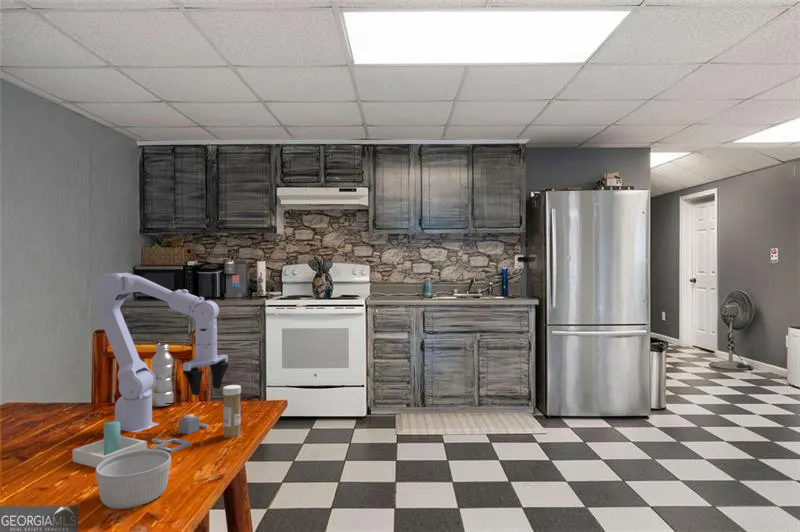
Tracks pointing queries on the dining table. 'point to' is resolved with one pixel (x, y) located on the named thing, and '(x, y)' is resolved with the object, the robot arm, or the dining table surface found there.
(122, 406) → the robot arm
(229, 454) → the dining table surface
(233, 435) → the sprinkles bottle
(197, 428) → the carriage
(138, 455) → the ramekin
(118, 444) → the pin
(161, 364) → the plastic bottle
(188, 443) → the block
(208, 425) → the rail
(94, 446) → the tray
